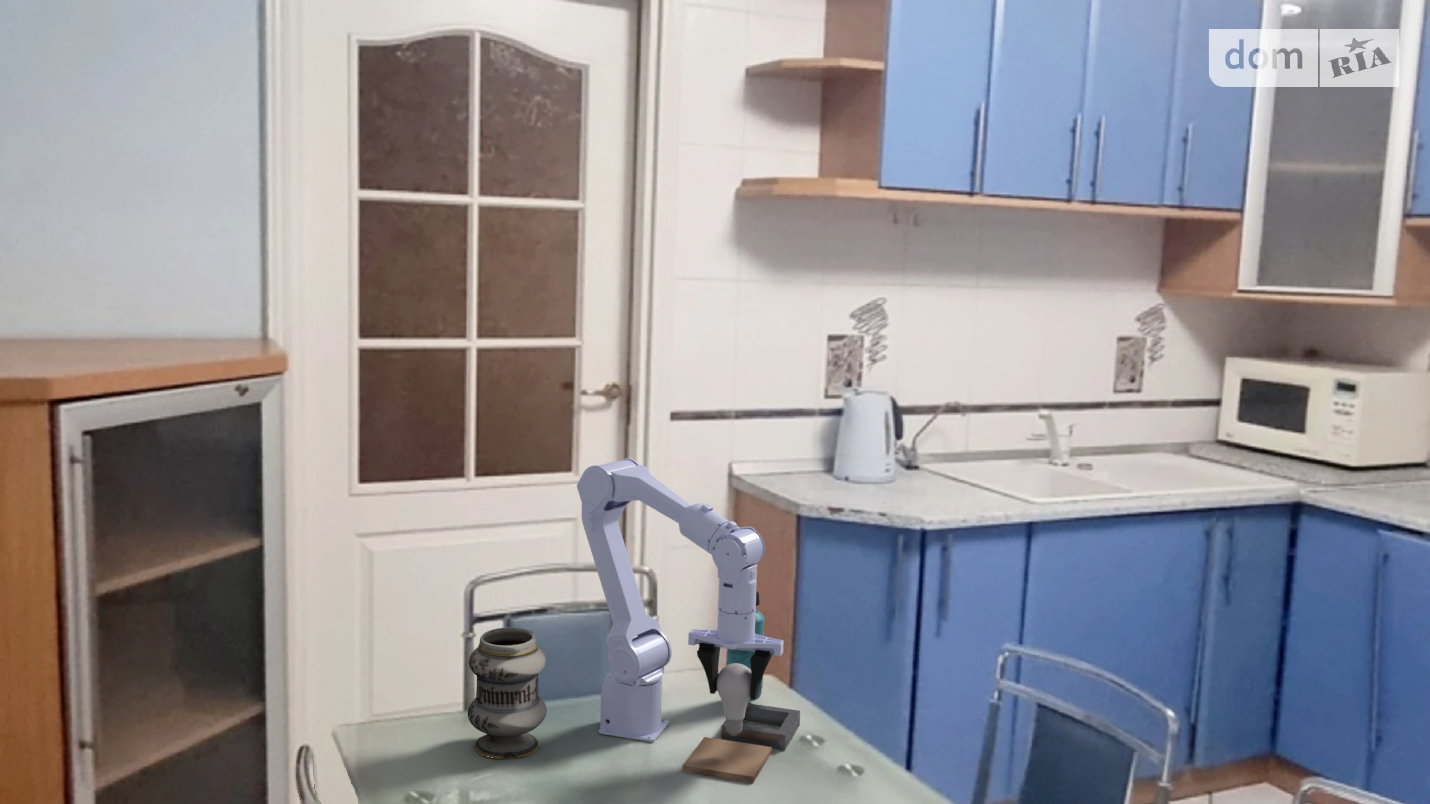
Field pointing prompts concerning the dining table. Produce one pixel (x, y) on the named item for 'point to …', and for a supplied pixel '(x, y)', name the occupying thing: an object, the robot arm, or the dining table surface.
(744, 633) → the robot arm
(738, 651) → the beverage bottle
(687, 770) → the walnut pad
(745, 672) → the lightbulb
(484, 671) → the apothecary jar
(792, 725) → the holder frame
